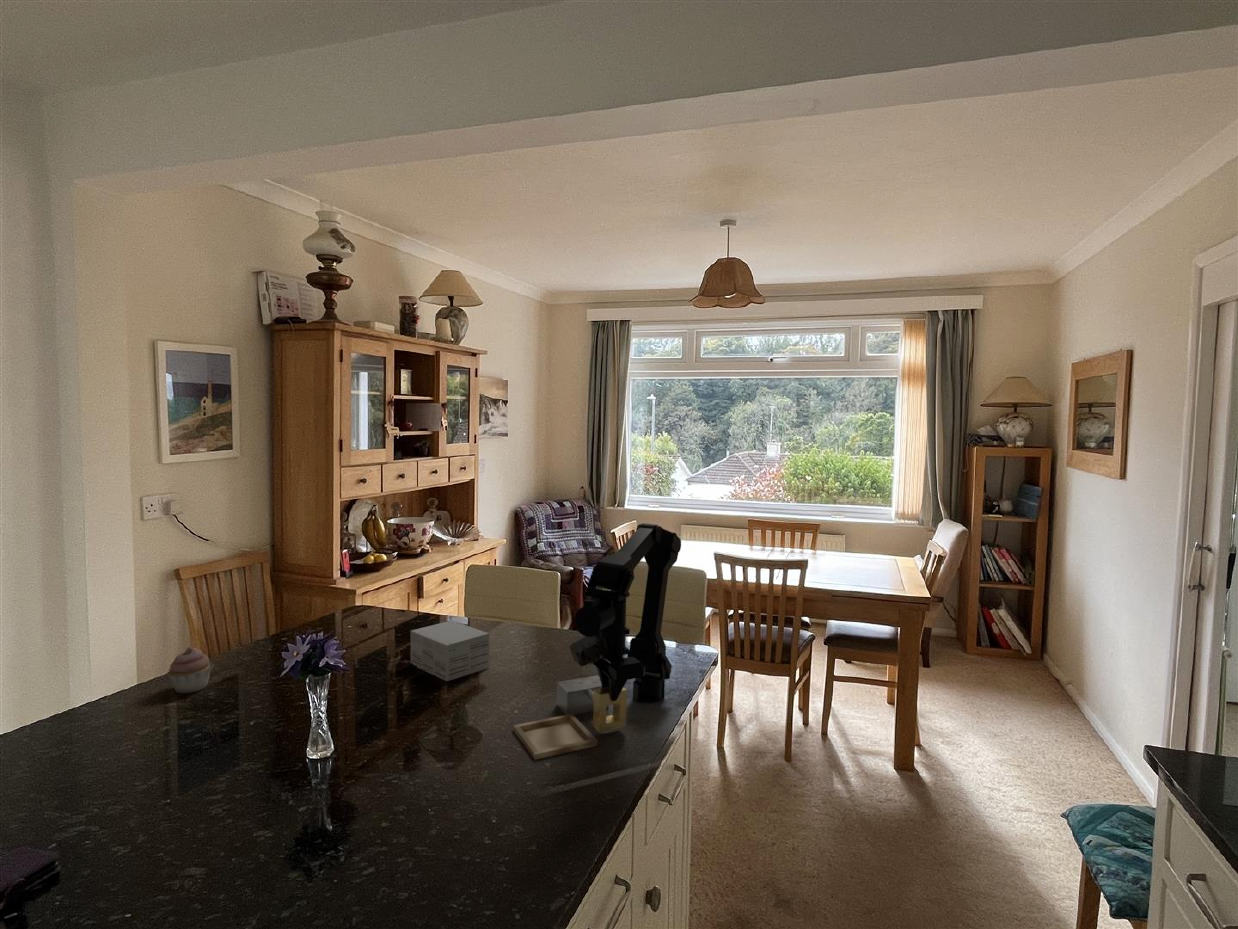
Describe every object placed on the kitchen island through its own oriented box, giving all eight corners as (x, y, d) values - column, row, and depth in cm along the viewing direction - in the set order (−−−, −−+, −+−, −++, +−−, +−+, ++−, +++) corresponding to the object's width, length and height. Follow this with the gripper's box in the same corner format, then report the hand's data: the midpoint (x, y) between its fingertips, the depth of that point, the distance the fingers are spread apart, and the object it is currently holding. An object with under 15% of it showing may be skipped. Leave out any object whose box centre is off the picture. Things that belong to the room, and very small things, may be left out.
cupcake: (157, 692, 153) (156, 650, 152) (196, 678, 162) (195, 638, 161) (185, 700, 149) (183, 656, 149) (223, 684, 158) (222, 643, 157)
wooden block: (619, 720, 139) (620, 684, 138) (625, 726, 136) (626, 690, 135) (593, 725, 136) (593, 689, 135) (599, 732, 133) (599, 694, 133)
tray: (571, 721, 142) (571, 713, 142) (597, 749, 131) (597, 740, 131) (513, 733, 136) (513, 725, 136) (534, 763, 125) (534, 754, 125)
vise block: (598, 699, 154) (598, 674, 154) (627, 725, 141) (627, 698, 141) (553, 707, 149) (554, 681, 149) (579, 736, 136) (580, 707, 136)
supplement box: (490, 668, 172) (490, 633, 171) (446, 682, 162) (446, 645, 162) (452, 652, 183) (452, 618, 183) (409, 664, 173) (409, 629, 173)
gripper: (557, 614, 139) (556, 687, 140) (594, 642, 122) (592, 724, 124) (605, 608, 144) (604, 678, 145) (647, 634, 127) (645, 713, 128)
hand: (610, 697), depth 135 cm, fingers closed on wooden block, 3 cm apart
